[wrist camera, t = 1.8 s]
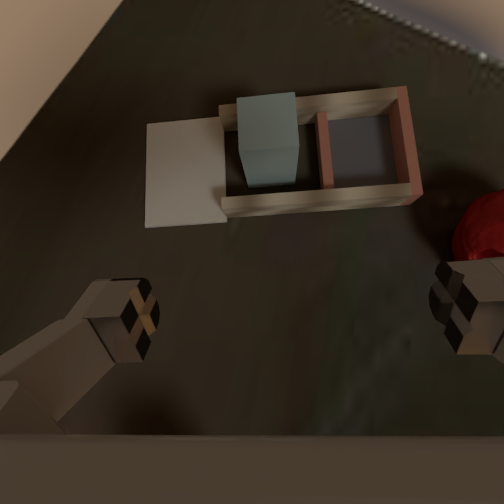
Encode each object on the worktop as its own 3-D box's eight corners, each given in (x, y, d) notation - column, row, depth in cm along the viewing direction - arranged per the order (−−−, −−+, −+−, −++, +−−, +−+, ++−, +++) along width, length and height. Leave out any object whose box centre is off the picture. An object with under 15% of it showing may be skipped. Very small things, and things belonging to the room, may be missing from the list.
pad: (146, 227, 33) (144, 226, 33) (148, 125, 35) (146, 123, 35) (227, 222, 32) (226, 221, 32) (223, 118, 35) (223, 116, 34)
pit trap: (322, 211, 32) (327, 201, 29) (313, 113, 34) (317, 95, 31) (409, 204, 31) (423, 194, 28) (395, 105, 33) (406, 85, 30)
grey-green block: (248, 188, 33) (238, 151, 25) (246, 146, 34) (236, 98, 26) (294, 184, 32) (299, 145, 25) (291, 142, 33) (294, 91, 26)
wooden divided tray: (226, 217, 32) (221, 209, 30) (224, 122, 35) (218, 105, 32) (399, 205, 31) (412, 194, 28) (385, 106, 33) (395, 86, 30)
